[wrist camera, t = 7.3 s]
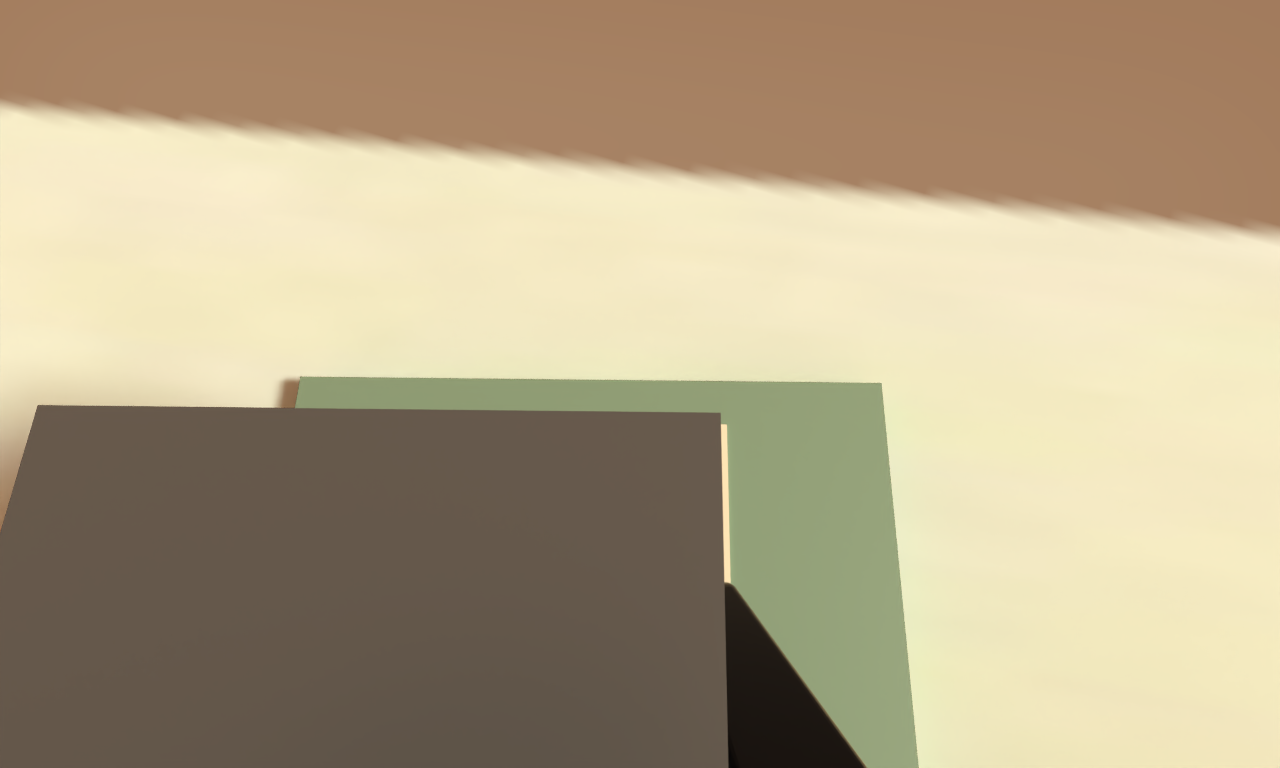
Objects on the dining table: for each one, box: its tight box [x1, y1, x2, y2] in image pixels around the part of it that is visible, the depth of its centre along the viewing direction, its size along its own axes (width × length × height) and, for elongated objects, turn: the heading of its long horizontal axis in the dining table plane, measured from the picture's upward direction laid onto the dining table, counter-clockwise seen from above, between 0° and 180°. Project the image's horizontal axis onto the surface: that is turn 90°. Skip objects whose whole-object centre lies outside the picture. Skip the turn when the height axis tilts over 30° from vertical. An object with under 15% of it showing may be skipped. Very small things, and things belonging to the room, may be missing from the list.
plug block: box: [0, 405, 728, 768], centre depth 9 cm, size 5×4×10 cm
